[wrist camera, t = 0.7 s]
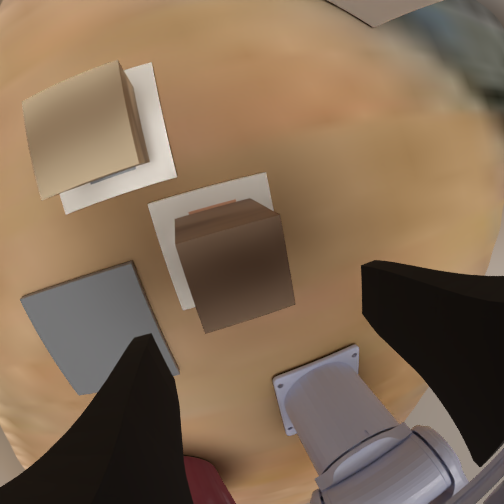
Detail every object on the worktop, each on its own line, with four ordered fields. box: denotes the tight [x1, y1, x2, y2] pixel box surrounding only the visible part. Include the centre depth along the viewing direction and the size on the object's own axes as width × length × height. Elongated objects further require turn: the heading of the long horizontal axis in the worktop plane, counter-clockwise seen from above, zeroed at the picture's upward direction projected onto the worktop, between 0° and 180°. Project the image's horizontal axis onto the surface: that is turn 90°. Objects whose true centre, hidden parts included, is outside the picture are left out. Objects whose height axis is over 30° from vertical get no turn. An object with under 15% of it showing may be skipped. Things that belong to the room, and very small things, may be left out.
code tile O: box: [60, 62, 177, 214], centre depth 14 cm, size 7×7×1 cm
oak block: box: [22, 60, 150, 200], centre depth 11 cm, size 4×4×5 cm
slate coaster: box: [20, 261, 180, 395], centre depth 17 cm, size 9×9×1 cm
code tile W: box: [148, 172, 274, 310], centre depth 17 cm, size 7×7×1 cm
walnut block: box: [175, 198, 295, 334], centre depth 15 cm, size 4×4×5 cm
